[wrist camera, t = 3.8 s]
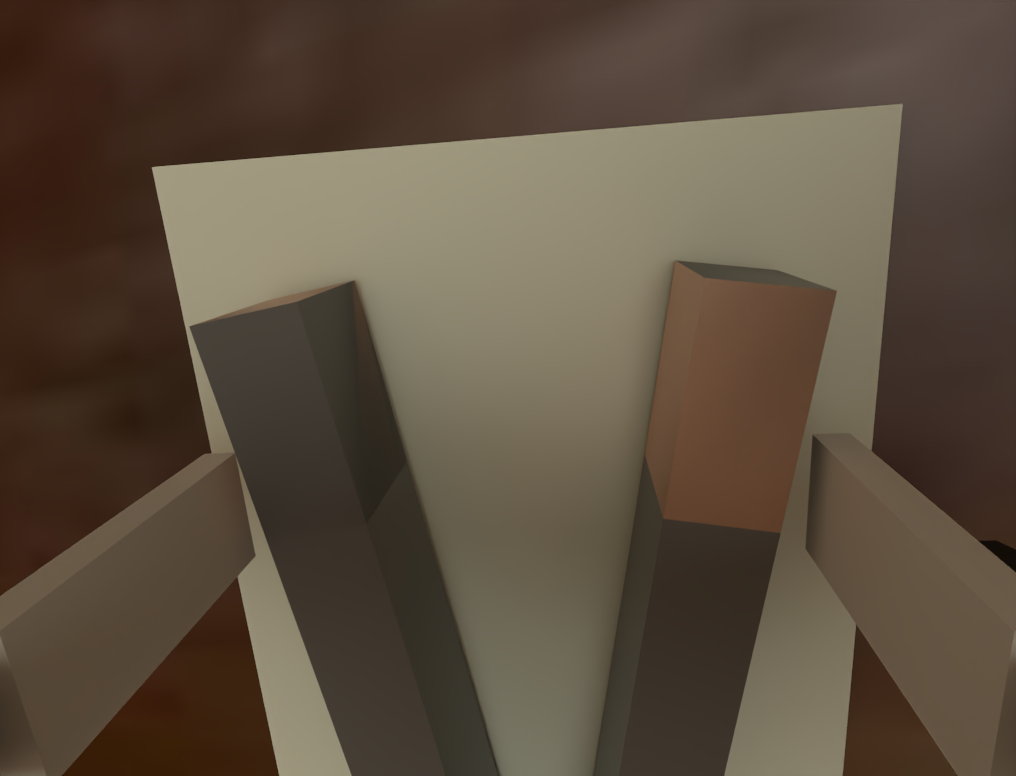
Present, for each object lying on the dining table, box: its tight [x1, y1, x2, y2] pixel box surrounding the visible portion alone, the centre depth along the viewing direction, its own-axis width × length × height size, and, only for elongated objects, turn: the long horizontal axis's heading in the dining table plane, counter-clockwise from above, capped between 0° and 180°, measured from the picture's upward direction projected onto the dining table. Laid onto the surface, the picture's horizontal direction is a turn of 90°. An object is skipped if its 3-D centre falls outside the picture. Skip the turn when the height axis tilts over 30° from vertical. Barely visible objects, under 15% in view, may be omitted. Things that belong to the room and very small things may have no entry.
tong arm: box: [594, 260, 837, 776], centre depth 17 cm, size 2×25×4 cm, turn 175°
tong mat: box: [152, 104, 903, 776], centre depth 20 cm, size 18×32×1 cm, turn 4°
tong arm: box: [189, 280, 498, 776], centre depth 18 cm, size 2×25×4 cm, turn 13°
